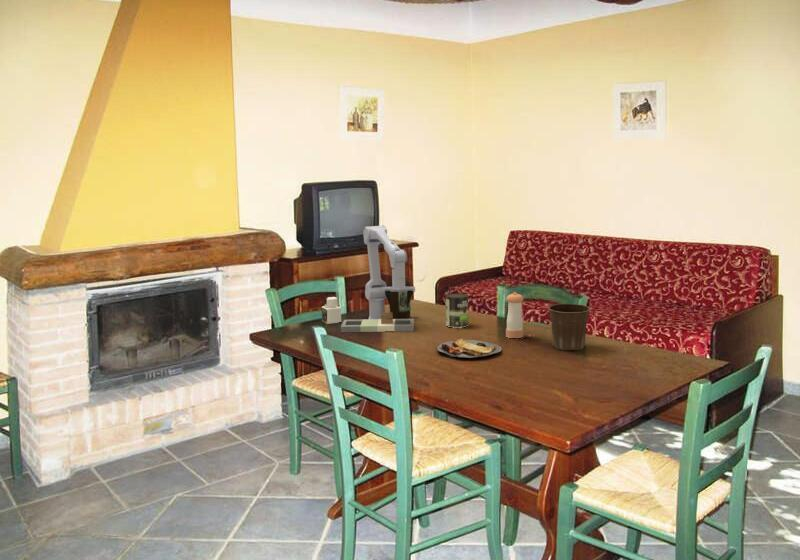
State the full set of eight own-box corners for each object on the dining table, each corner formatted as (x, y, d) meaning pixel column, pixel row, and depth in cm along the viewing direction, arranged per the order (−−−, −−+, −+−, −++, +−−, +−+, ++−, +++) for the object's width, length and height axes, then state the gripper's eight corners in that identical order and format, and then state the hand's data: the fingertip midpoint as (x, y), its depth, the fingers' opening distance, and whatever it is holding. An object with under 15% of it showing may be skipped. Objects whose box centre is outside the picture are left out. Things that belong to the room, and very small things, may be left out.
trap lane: (344, 325, 346) (344, 319, 345) (413, 324, 345) (413, 318, 344) (341, 332, 332) (341, 326, 331) (413, 331, 331) (413, 325, 331)
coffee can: (473, 326, 339) (473, 295, 336) (456, 329, 332) (456, 298, 330) (457, 322, 346) (457, 292, 344) (440, 326, 340) (440, 295, 338)
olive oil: (384, 318, 358) (383, 266, 354) (402, 315, 364) (401, 264, 360) (397, 322, 350) (396, 268, 345) (415, 318, 356) (415, 266, 351)
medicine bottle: (322, 321, 354) (321, 296, 352) (336, 319, 357) (335, 294, 355) (327, 324, 348) (326, 298, 346) (341, 322, 351) (340, 297, 349)
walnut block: (381, 321, 340) (381, 312, 340) (392, 321, 340) (392, 312, 339) (381, 323, 335) (381, 315, 335) (392, 323, 335) (392, 314, 335)
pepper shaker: (525, 336, 318) (526, 291, 315) (519, 339, 312) (519, 294, 309) (509, 334, 322) (510, 290, 319) (503, 338, 316) (503, 293, 313)
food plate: (424, 352, 296) (424, 343, 295) (463, 341, 312) (463, 333, 311) (473, 365, 278) (473, 356, 278) (512, 353, 294) (512, 345, 294)
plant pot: (583, 354, 288) (583, 313, 285) (542, 350, 296) (542, 309, 293) (594, 344, 302) (595, 305, 299) (554, 340, 310) (555, 302, 307)
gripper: (381, 279, 329) (382, 309, 332) (414, 278, 329) (415, 309, 331) (382, 276, 336) (383, 306, 339) (415, 276, 336) (415, 306, 338)
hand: (399, 307), depth 335 cm, fingers open, 7 cm apart
